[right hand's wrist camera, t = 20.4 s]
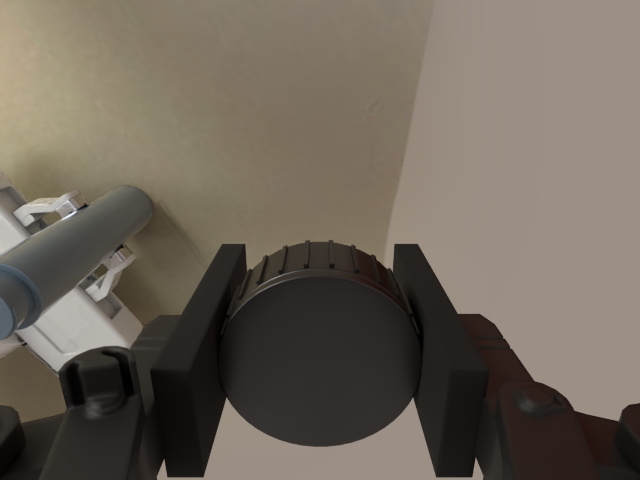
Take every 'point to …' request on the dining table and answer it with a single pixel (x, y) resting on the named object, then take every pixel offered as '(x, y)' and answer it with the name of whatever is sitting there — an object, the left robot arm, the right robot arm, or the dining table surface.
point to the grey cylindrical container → (66, 255)
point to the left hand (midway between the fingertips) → (104, 225)
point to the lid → (319, 346)
